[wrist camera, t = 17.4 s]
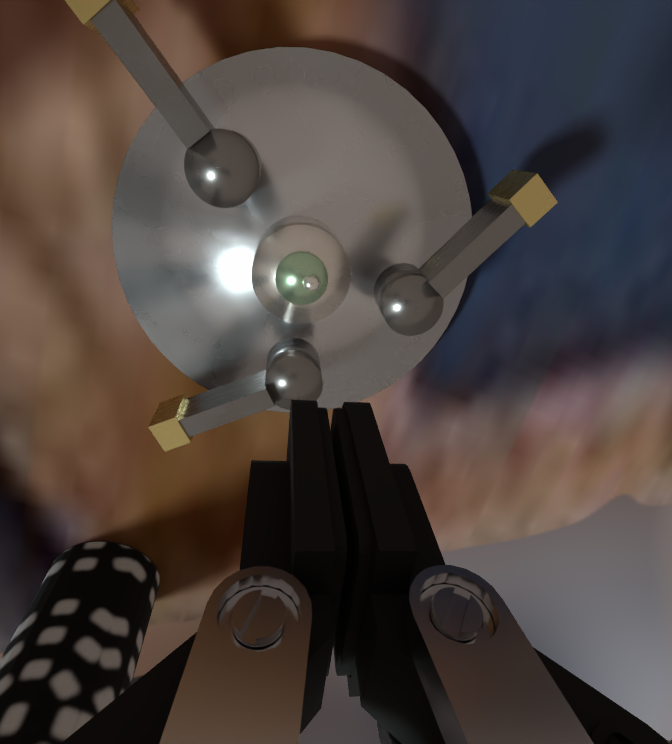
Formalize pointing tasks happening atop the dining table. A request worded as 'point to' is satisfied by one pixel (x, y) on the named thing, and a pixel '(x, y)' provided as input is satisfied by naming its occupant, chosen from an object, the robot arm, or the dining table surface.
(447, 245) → the metal scoop
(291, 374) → the metal scoop
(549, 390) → the dining table surface
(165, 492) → the dining table surface
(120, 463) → the dining table surface
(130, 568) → the spotted tube
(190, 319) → the tribrach plate
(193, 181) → the metal scoop
